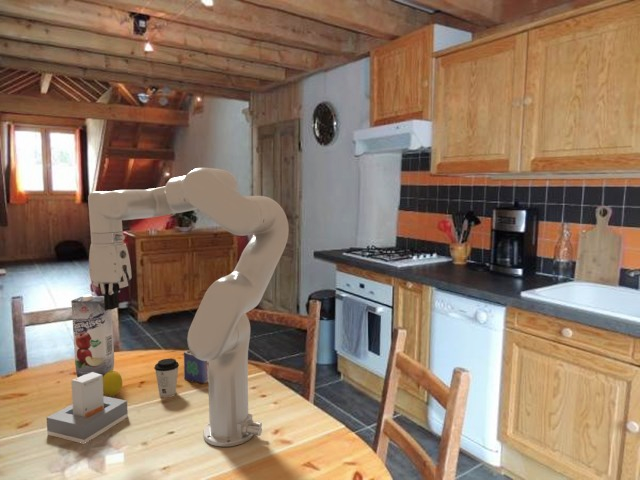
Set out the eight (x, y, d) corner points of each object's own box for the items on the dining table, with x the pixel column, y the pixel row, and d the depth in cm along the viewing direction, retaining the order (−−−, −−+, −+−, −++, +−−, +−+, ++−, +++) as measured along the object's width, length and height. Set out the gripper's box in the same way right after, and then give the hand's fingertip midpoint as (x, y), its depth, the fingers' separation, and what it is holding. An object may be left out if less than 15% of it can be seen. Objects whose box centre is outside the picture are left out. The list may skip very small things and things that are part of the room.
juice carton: (89, 368, 156) (85, 290, 153) (118, 369, 154) (114, 291, 151) (71, 378, 147) (66, 296, 144) (102, 380, 145) (97, 297, 143)
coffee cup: (164, 401, 131) (163, 367, 130) (150, 395, 135) (149, 362, 134) (184, 393, 136) (183, 360, 135) (170, 387, 141) (169, 355, 140)
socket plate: (127, 416, 122) (127, 400, 122) (84, 443, 109) (83, 426, 109) (93, 409, 126) (92, 393, 126) (47, 434, 113) (46, 417, 113)
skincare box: (84, 429, 114) (81, 383, 113) (73, 425, 116) (70, 379, 115) (105, 418, 119) (103, 374, 118) (94, 414, 121) (92, 371, 120)
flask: (209, 382, 144) (208, 349, 143) (203, 385, 142) (202, 352, 141) (188, 376, 149) (187, 344, 148) (181, 379, 146) (180, 347, 145)
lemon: (115, 401, 131) (113, 374, 130) (98, 400, 132) (96, 373, 131) (126, 393, 136) (125, 367, 135) (110, 391, 137) (109, 366, 136)
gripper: (140, 238, 120) (144, 306, 121) (96, 237, 125) (100, 303, 126) (119, 241, 113) (124, 314, 114) (73, 240, 118) (78, 310, 119)
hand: (111, 308), depth 120 cm, fingers closed
